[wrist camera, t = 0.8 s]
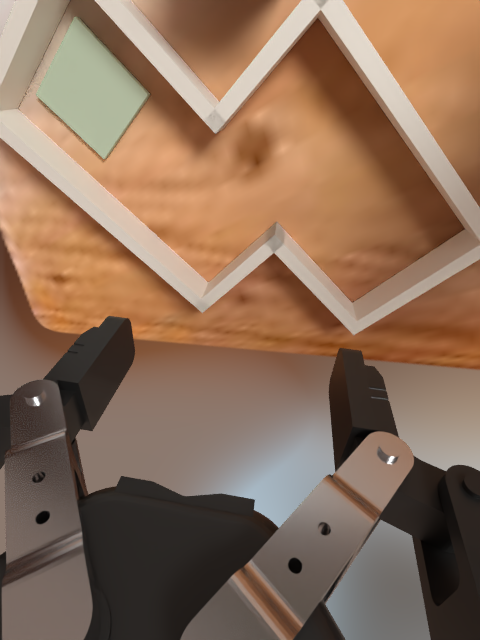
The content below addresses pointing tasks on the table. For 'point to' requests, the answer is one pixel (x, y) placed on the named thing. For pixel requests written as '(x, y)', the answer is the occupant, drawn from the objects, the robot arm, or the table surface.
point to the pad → (91, 89)
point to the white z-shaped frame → (324, 3)
